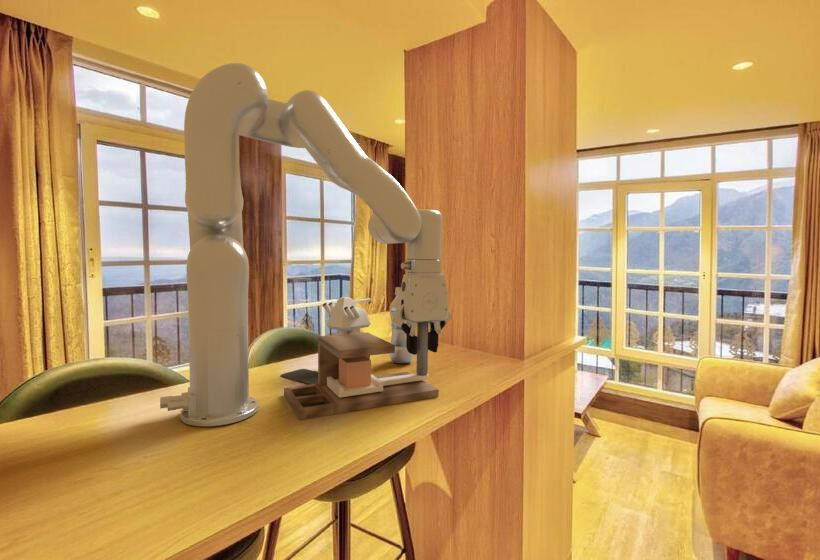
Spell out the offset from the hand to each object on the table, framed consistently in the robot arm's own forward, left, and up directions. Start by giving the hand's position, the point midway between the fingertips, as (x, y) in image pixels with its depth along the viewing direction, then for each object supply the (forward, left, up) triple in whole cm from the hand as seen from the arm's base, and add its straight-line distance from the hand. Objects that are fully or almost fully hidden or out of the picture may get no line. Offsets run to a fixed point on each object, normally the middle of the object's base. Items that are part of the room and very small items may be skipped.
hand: (422, 351), depth 91 cm
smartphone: (-20, +16, -8) cm, 27 cm away
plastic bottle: (+5, +20, -8) cm, 22 cm away
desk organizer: (-14, 0, -8) cm, 16 cm away
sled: (-9, 0, -6) cm, 11 cm away
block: (-15, 0, -5) cm, 16 cm away
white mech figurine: (-9, +21, -8) cm, 24 cm away
